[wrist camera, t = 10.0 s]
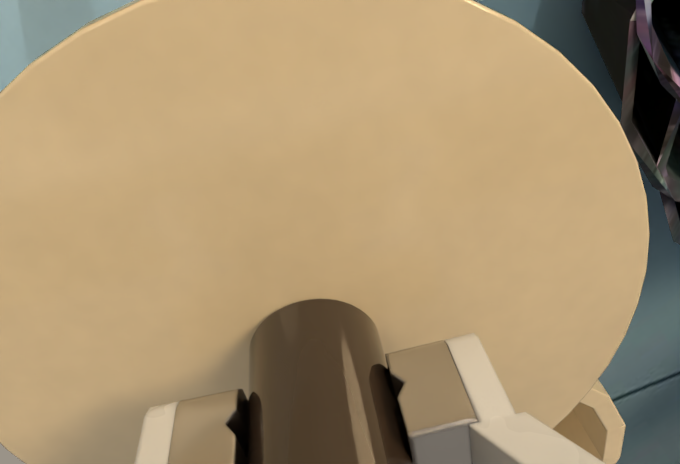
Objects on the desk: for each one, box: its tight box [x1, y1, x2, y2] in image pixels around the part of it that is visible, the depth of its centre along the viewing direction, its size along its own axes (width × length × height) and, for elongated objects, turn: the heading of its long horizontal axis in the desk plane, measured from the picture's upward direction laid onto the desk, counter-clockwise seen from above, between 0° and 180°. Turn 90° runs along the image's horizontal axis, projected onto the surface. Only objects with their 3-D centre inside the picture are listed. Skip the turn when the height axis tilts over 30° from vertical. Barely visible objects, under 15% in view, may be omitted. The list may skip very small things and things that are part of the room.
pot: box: [553, 380, 626, 464], centre depth 26 cm, size 12×17×8 cm
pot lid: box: [0, 0, 650, 464], centre depth 9 cm, size 13×13×5 cm
